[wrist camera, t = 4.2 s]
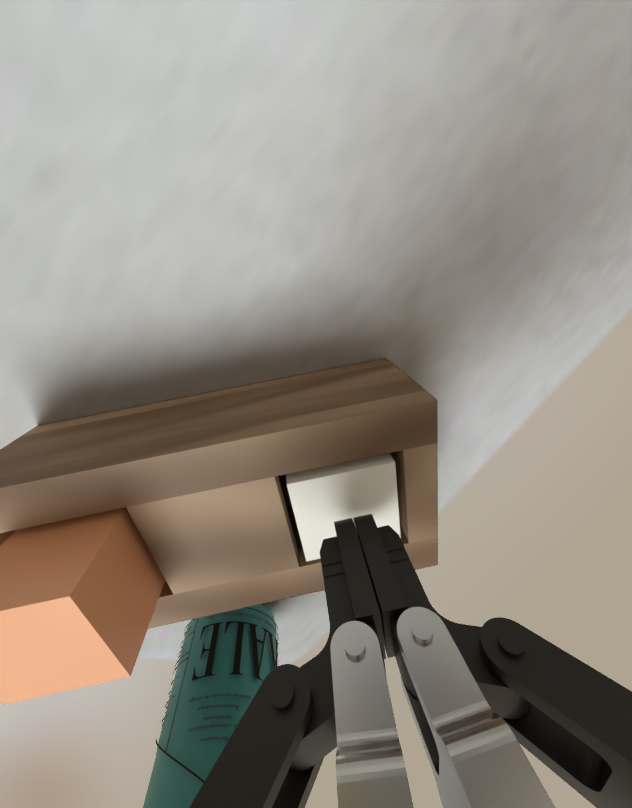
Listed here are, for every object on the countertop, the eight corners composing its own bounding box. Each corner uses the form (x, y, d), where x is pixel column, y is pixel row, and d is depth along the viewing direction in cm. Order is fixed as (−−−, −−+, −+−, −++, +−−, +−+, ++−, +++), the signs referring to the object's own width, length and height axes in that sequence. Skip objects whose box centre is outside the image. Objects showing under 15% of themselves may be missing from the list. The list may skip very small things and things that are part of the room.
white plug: (284, 426, 17) (286, 484, 12) (363, 410, 17) (395, 462, 12) (299, 489, 19) (306, 561, 14) (370, 474, 19) (400, 541, 14)
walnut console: (36, 426, 16) (-85, 504, 11) (386, 358, 17) (437, 399, 12) (110, 546, 20) (48, 650, 15) (395, 486, 21) (437, 564, 15)
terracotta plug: (38, 508, 14) (-84, 629, 9) (138, 487, 14) (69, 596, 9) (85, 575, 15) (3, 704, 11) (173, 556, 16) (130, 675, 11)
